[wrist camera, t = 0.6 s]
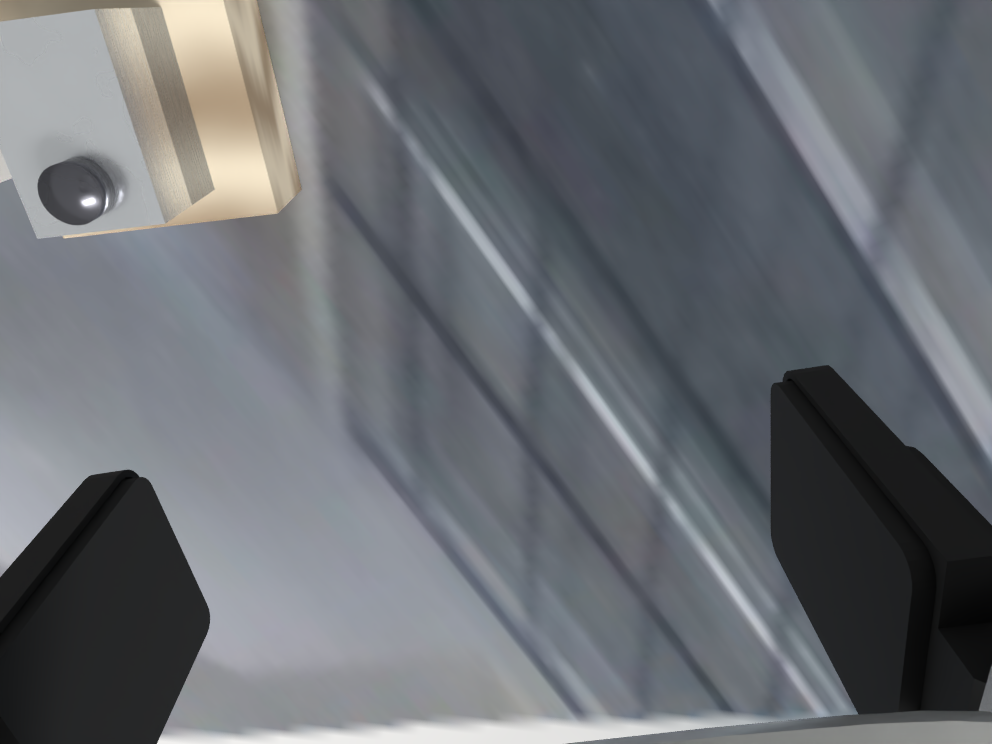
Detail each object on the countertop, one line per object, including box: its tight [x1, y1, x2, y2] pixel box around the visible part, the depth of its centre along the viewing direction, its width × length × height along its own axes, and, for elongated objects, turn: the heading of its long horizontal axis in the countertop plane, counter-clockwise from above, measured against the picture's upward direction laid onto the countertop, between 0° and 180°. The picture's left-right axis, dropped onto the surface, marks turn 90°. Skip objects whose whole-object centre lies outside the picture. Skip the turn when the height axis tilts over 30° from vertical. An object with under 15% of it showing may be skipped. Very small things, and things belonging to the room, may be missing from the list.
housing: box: [0, 7, 215, 239], centre depth 31 cm, size 8×6×7 cm
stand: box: [0, 0, 302, 238], centre depth 36 cm, size 11×11×5 cm
